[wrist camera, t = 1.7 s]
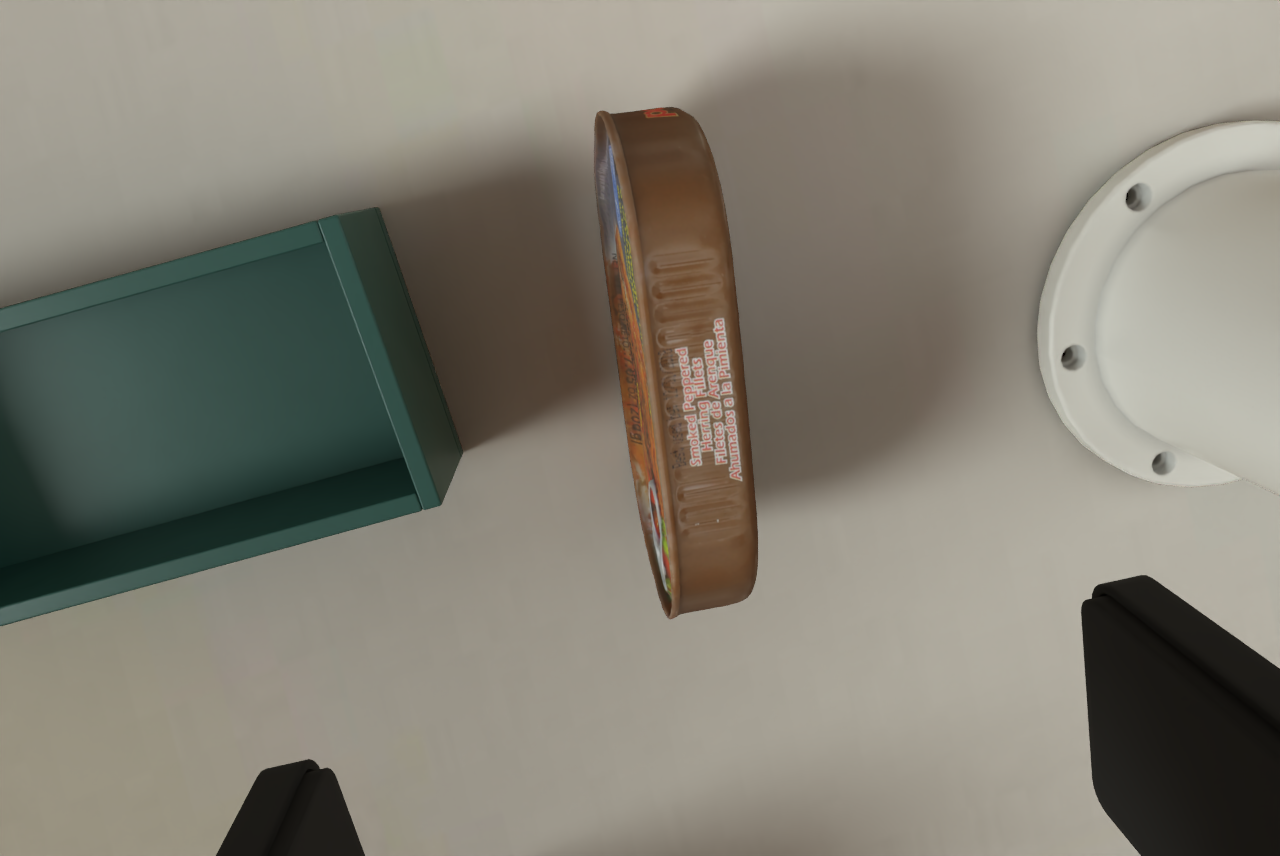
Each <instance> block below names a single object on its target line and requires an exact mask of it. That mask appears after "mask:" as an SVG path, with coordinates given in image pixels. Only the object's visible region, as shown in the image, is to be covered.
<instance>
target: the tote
mask: <svg viewBox="0 0 1280 856" xmlns="http://www.w3.org/2000/svg"><path fill="white" fill-rule="evenodd" d="M462 454H463V450H462V447H461V444H460V441H459V439H458V436H457V433H456V430H455V427H454V424H453V421H452V418H451V415H450V412H449V410H448V407H447V404H446V401H445V398H444V395H443V392H442V389H441V386H440V383H439V380H438V378H437V375H436V372H435V369H434V366H433V363H432V360H431V357H430V354H429V351H428V348H427V346H426V343H425V340H424V337H423V334H422V331H421V328H420V325H419V322H418V319H417V316H416V314H415V311H414V308H413V305H412V302H411V299H410V296H409V293H408V290H407V287H406V285H405V282H404V279H403V276H402V273H401V270H400V267H399V264H398V261H397V258H396V255H395V253H394V250H393V247H392V244H391V241H390V238H389V235H388V232H387V229H386V226H385V223H384V221H383V218H382V215H381V212H380V209H379V208H378V207H374V208H369V209H364V210H359V211H353V212H348V213H343V214H338V215H334V216H330V217H326V218H323V219H319V220H316V221H312V222H308V223H305V224H301V225H298V226H294V227H291V228H287V229H283V230H280V231H276V232H273V233H269V234H265V235H262V236H258V237H255V238H251V239H248V240H244V241H240V242H237V243H233V244H230V245H226V246H222V247H219V248H215V249H212V250H208V251H204V252H201V253H197V254H194V255H190V256H187V257H183V258H179V259H176V260H172V261H169V262H165V263H161V264H158V265H154V266H151V267H147V268H144V269H140V270H136V271H133V272H129V273H126V274H122V275H118V276H115V277H111V278H108V279H104V280H101V281H97V282H93V283H90V284H86V285H83V286H79V287H75V288H72V289H68V290H65V291H61V292H57V293H54V294H50V295H47V296H43V297H40V298H36V299H32V300H29V301H25V302H22V303H18V304H14V305H11V306H7V307H4V308H0V626H3V625H7V624H10V623H14V622H18V621H21V620H25V619H29V618H32V617H36V616H40V615H43V614H47V613H51V612H54V611H58V610H62V609H65V608H69V607H72V606H76V605H80V604H83V603H87V602H91V601H94V600H98V599H102V598H105V597H109V596H113V595H116V594H120V593H124V592H127V591H131V590H135V589H138V588H142V587H145V586H149V585H153V584H156V583H160V582H164V581H167V580H171V579H175V578H178V577H182V576H186V575H189V574H193V573H197V572H200V571H204V570H207V569H211V568H215V567H218V566H222V565H226V564H229V563H233V562H237V561H240V560H244V559H248V558H251V557H255V556H259V555H262V554H266V553H270V552H273V551H277V550H280V549H284V548H288V547H291V546H295V545H299V544H302V543H306V542H310V541H313V540H317V539H321V538H324V537H328V536H332V535H335V534H339V533H342V532H346V531H350V530H353V529H357V528H361V527H364V526H368V525H372V524H375V523H379V522H383V521H386V520H390V519H394V518H397V517H401V516H405V515H408V514H412V513H415V512H419V511H421V510H422V509H423V510H426V509H430V508H434V507H437V506H440V505H442V502H443V500H444V498H445V495H446V493H447V490H448V488H449V485H450V483H451V481H452V478H453V476H454V473H455V471H456V468H457V466H458V464H459V461H460V459H461V456H462Z"/></svg>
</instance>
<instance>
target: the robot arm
mask: <svg viewBox="0 0 1280 856" xmlns="http://www.w3.org/2000/svg"><path fill="white" fill-rule="evenodd" d="M1127 192H1128V193H1129V197H1128V200H1127V201H1126V194H1127ZM1037 343H1038V355H1039V367H1040V370H1041V373H1042V377H1043V380H1044V384H1045V387H1046V390H1047V394H1048V397H1049V399H1050V401H1051V402H1052V404H1053V406H1054V408H1055V410H1056V412H1057V413H1058V415H1059V417H1060V419H1061V421H1062V422H1063V424H1064V425H1065V426H1066V427H1067V428H1068V429H1069V431H1070V432H1071V433H1072V434H1073V435H1074V436H1075V437H1076V439H1077V440H1078V441H1079V442H1080V443H1081V444H1082V445H1083V446H1084V447H1086V448H1087V449H1088V450H1090V451H1091V452H1093V453H1094V454H1095V455H1097V456H1098V457H1100V458H1101V459H1102V460H1104V461H1105V462H1107V463H1109V464H1111V465H1113V466H1115V467H1117V468H1118V469H1120V470H1122V471H1124V472H1126V473H1128V474H1130V475H1131V476H1134V477H1137V478H1140V479H1143V480H1146V481H1149V482H1152V483H1156V484H1160V485H1170V486H1181V487H1191V488H1192V487H1203V486H1214V485H1224V484H1228V483H1231V482H1235V481H1239V480H1243V479H1244V480H1246V481H1249V482H1251V483H1253V484H1255V485H1257V486H1259V487H1261V488H1263V489H1266V490H1268V491H1270V492H1272V493H1274V494H1276V495H1278V496H1280V121H1259V120H1249V121H1239V122H1229V123H1219V124H1214V125H1210V126H1206V127H1203V128H1199V129H1196V130H1192V131H1188V132H1185V133H1181V134H1179V135H1177V136H1175V137H1173V138H1171V139H1169V140H1167V141H1165V142H1163V143H1161V144H1159V145H1157V146H1155V147H1152V148H1150V149H1148V150H1147V151H1145V152H1144V153H1143V154H1141V155H1140V156H1138V157H1137V158H1136V159H1134V160H1133V161H1131V162H1130V163H1129V164H1127V165H1126V166H1124V167H1123V168H1122V169H1120V170H1119V171H1118V172H1116V173H1115V174H1114V175H1113V176H1112V177H1111V178H1110V179H1109V180H1108V181H1107V182H1106V183H1105V184H1104V185H1103V186H1102V187H1101V188H1100V189H1099V190H1098V191H1097V192H1096V193H1095V194H1094V195H1093V196H1092V197H1091V198H1090V199H1089V201H1088V202H1087V203H1086V205H1085V206H1084V208H1083V209H1082V211H1081V212H1080V213H1079V215H1078V216H1077V218H1076V219H1075V220H1074V222H1073V223H1072V225H1071V226H1070V227H1069V229H1068V230H1067V232H1066V234H1065V236H1064V238H1063V240H1062V242H1061V244H1060V246H1059V248H1058V250H1057V252H1056V254H1055V256H1054V259H1053V261H1052V263H1051V265H1050V268H1049V271H1048V275H1047V278H1046V282H1045V285H1044V289H1043V292H1042V295H1041V299H1040V307H1039V317H1038V326H1037ZM1065 350H1066V354H1065V356H1064V357H1063V358H1062V354H1063V353H1064V351H1065ZM1081 616H1082V631H1083V646H1084V661H1085V676H1086V691H1087V706H1088V721H1089V736H1090V751H1091V766H1092V779H1093V786H1094V789H1095V792H1096V795H1097V797H1098V800H1099V802H1100V804H1101V806H1102V807H1103V809H1104V811H1105V812H1106V813H1107V815H1108V816H1109V817H1110V818H1111V820H1112V821H1113V822H1114V823H1115V824H1116V826H1117V827H1118V828H1119V829H1120V831H1121V832H1122V833H1123V834H1124V835H1125V837H1126V838H1127V839H1128V840H1129V842H1130V843H1131V844H1132V845H1133V846H1134V848H1135V849H1136V850H1137V851H1138V852H1139V854H1140V855H1141V856H1280V669H1279V668H1278V667H1276V666H1275V665H1274V664H1272V663H1271V662H1269V661H1268V660H1267V659H1265V658H1264V657H1262V656H1261V655H1260V654H1258V653H1257V652H1255V651H1254V650H1253V649H1251V648H1250V647H1248V646H1247V645H1246V644H1244V643H1243V642H1241V641H1240V640H1239V639H1237V638H1236V637H1234V636H1233V635H1231V634H1230V633H1229V632H1227V631H1226V630H1224V629H1223V628H1222V627H1220V626H1219V625H1217V624H1216V623H1215V622H1213V621H1212V620H1210V619H1209V618H1208V617H1206V616H1205V615H1203V614H1202V613H1201V612H1199V611H1198V610H1196V609H1195V608H1194V607H1192V606H1191V605H1189V604H1188V603H1187V602H1185V601H1184V600H1182V599H1181V598H1179V597H1178V596H1177V595H1175V594H1174V593H1172V592H1171V591H1170V590H1168V589H1167V588H1165V587H1164V586H1163V585H1161V584H1160V583H1158V582H1157V581H1156V580H1154V579H1153V578H1151V577H1149V576H1147V575H1140V576H1136V577H1131V578H1127V579H1122V580H1118V581H1113V582H1108V583H1104V584H1099V585H1097V586H1096V587H1095V588H1094V591H1093V593H1092V599H1088V600H1085V601H1084V602H1083V604H1082V608H1081ZM216 856H365V854H364V852H363V849H362V846H361V843H360V841H359V838H358V835H357V833H356V830H355V827H354V824H353V822H352V819H351V816H350V814H349V811H348V808H347V805H346V803H345V800H344V797H343V794H342V792H341V789H340V786H339V784H338V781H337V778H336V776H335V774H334V772H333V771H332V770H331V769H329V768H324V769H320V768H319V766H318V765H317V764H316V762H315V761H313V760H310V759H308V760H304V761H299V762H295V763H290V764H286V765H281V766H277V767H272V768H268V769H265V770H263V771H261V773H260V774H259V775H258V777H257V778H256V780H255V782H254V784H253V786H252V788H251V790H250V792H249V794H248V796H247V797H246V799H245V801H244V803H243V805H242V807H241V809H240V811H239V813H238V815H237V816H236V818H235V820H234V822H233V824H232V826H231V828H230V830H229V832H228V834H227V836H226V837H225V839H224V841H223V843H222V845H221V847H220V849H219V851H218V853H217V855H216Z"/></svg>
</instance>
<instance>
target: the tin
mask: <svg viewBox="0 0 1280 856" xmlns="http://www.w3.org/2000/svg"><path fill="white" fill-rule="evenodd" d="M594 131H595V132H594V173H595V188H596V198H597V209H598V217H599V224H600V231H601V241H602V251H603V258H604V266H605V274H606V282H607V288H608V296H609V303H610V311H611V318H612V326H613V333H614V341H615V349H616V356H617V364H618V372H619V379H620V387H621V395H622V402H623V410H624V418H625V425H626V432H627V439H628V447H629V454H630V462H631V467H632V473H633V478H634V485H635V491H636V498H637V503H638V509H639V514H640V519H641V524H642V530H643V533H644V538H645V543H646V548H647V551H648V556H649V560H650V564H651V568H652V572H653V575H654V579H655V583H656V587H657V591H658V595H659V599H660V601H661V604H662V608H663V610H664V612H665V614H666V616H667V617H668V618H669V619H673V618H675V617H677V616H678V615H680V614H684V613H688V612H694V611H699V610H705V609H710V608H715V607H721V606H726V605H730V604H734V603H738V602H740V601H743V600H744V599H746V598H747V597H748V596H749V595H750V594H751V592H752V589H753V587H754V584H755V581H756V575H757V567H758V529H757V513H756V501H755V490H754V476H753V465H752V451H751V441H750V429H749V418H748V407H747V396H746V387H745V377H744V364H743V354H742V344H741V335H740V327H739V313H738V306H737V296H736V286H735V277H734V267H733V257H732V249H731V242H730V235H729V228H728V222H727V216H726V210H725V205H724V200H723V194H722V189H721V184H720V181H719V177H718V173H717V170H716V166H715V162H714V158H713V155H712V152H711V150H710V147H709V144H708V142H707V139H706V137H705V135H704V133H703V131H702V129H701V127H700V125H699V123H698V122H697V121H696V120H695V119H694V118H693V117H692V116H691V115H689V114H687V113H686V112H684V111H682V110H680V109H678V108H674V107H666V108H655V109H648V110H641V111H634V112H626V113H617V114H609V113H608V112H606V111H599V112H598V113H597V115H596V118H595V128H594Z"/></svg>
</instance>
